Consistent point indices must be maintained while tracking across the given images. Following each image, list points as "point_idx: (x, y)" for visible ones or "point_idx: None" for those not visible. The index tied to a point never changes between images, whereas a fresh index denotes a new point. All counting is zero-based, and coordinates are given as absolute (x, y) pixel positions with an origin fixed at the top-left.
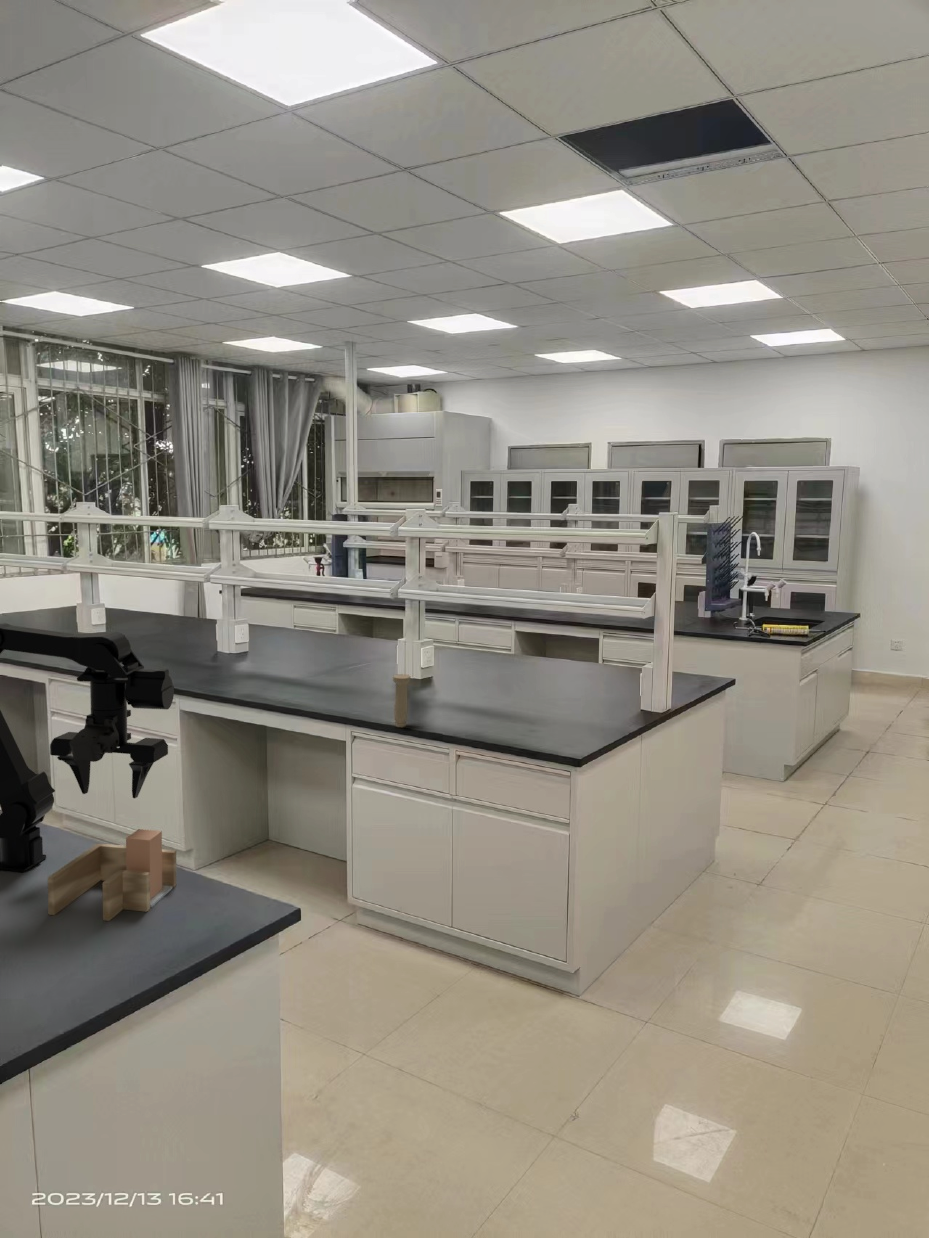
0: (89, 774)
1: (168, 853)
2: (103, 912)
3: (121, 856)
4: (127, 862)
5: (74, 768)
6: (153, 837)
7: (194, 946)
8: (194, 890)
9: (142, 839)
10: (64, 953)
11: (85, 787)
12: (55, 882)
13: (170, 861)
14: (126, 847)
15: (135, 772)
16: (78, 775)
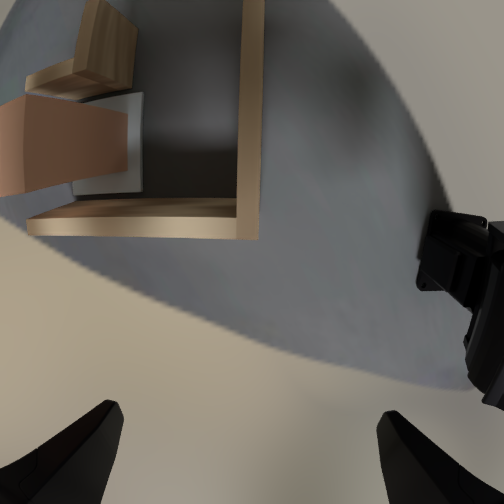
0: (390, 501)
1: (37, 218)
2: (130, 23)
3: (165, 210)
4: (76, 103)
5: (480, 499)
6: None
7: (5, 44)
8: (44, 200)
9: None
10: None
11: (391, 440)
12: None
13: (46, 213)
14: (48, 97)
15: (13, 487)
16: (446, 477)
